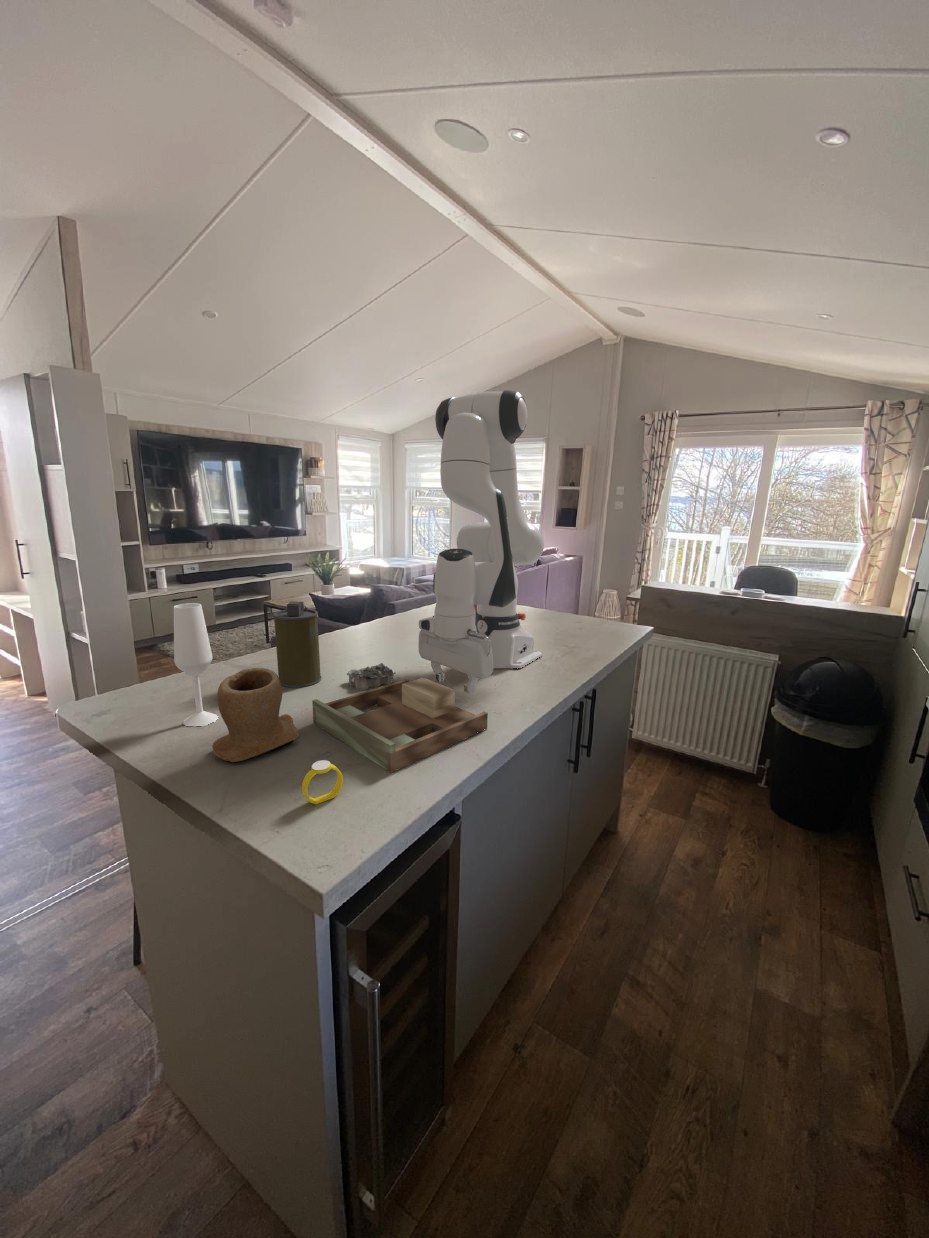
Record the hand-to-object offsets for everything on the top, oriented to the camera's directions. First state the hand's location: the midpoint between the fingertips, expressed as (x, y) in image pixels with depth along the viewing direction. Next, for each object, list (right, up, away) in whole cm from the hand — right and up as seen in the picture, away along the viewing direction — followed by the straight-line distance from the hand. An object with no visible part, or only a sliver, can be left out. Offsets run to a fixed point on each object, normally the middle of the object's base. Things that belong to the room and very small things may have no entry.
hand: (453, 686), depth 110 cm
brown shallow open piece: (-11, -7, -9) cm, 16 cm away
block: (-5, -4, -5) cm, 8 cm away
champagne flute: (-52, -6, -8) cm, 53 cm away
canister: (-39, -1, +15) cm, 42 cm away
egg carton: (-21, -1, +14) cm, 26 cm away
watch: (-19, -13, -34) cm, 41 cm away
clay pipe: (-35, -9, -19) cm, 41 cm away
